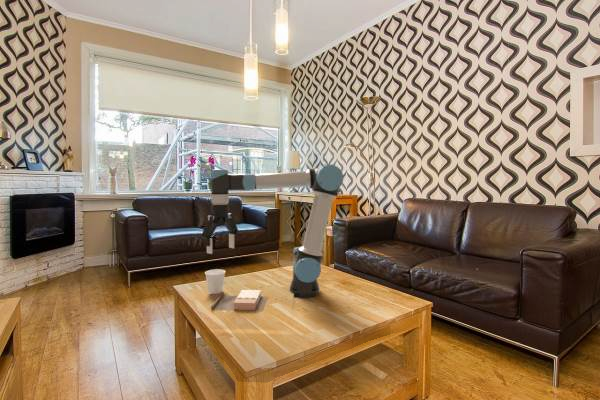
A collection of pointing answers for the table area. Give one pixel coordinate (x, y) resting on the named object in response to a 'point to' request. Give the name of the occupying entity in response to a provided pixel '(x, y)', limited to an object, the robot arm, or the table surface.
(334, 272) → the table surface
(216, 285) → the cup
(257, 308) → the board
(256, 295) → the cream flat block
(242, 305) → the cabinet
